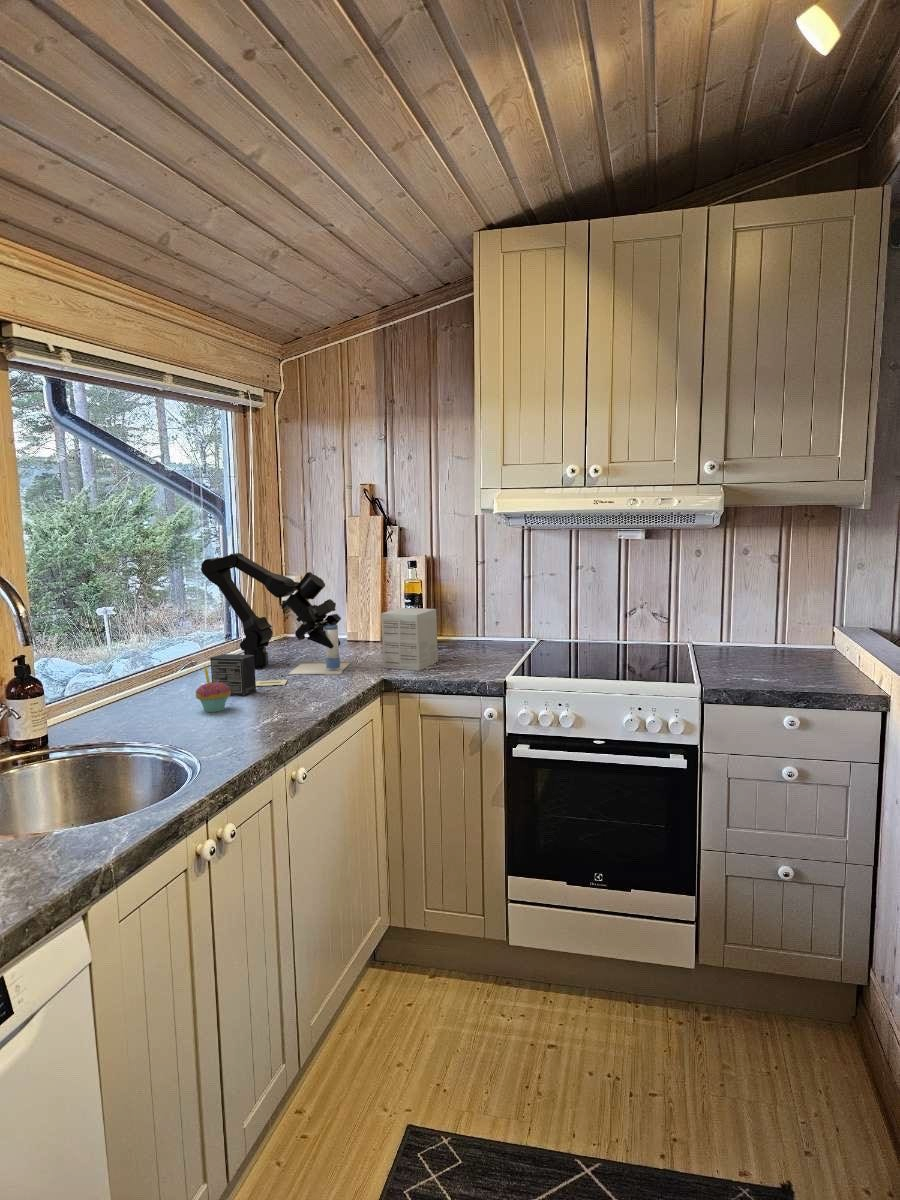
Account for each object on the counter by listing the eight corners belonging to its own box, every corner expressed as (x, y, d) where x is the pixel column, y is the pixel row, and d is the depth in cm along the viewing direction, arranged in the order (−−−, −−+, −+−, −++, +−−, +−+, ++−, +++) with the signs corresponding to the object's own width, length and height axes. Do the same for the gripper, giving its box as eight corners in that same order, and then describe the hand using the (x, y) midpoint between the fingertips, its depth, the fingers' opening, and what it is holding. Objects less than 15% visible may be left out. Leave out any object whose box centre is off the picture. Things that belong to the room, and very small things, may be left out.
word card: (252, 687, 222) (252, 685, 222) (255, 682, 228) (255, 680, 228) (285, 685, 223) (284, 684, 223) (287, 681, 229) (287, 679, 229)
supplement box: (402, 660, 255) (400, 607, 253) (438, 662, 250) (437, 608, 248) (382, 668, 244) (379, 612, 241) (419, 671, 238) (417, 614, 236)
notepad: (288, 674, 237) (288, 673, 237) (302, 664, 253) (302, 662, 253) (340, 674, 236) (340, 672, 236) (350, 663, 252) (350, 661, 252)
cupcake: (212, 715, 193) (209, 668, 191) (189, 711, 197) (186, 665, 196) (238, 707, 200) (235, 661, 198) (215, 704, 204) (212, 659, 203)
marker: (326, 669, 239) (324, 627, 237) (325, 666, 243) (324, 625, 241) (340, 668, 239) (338, 626, 238) (339, 665, 244) (337, 624, 242)
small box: (257, 691, 218) (255, 654, 216) (244, 696, 212) (242, 658, 210) (225, 689, 221) (223, 652, 220) (211, 694, 215) (208, 657, 214)
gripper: (301, 595, 231) (335, 633, 228) (334, 588, 248) (366, 624, 245) (280, 620, 235) (313, 658, 232) (314, 612, 252) (345, 647, 249)
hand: (336, 646), depth 240 cm, fingers closed on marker, 4 cm apart
